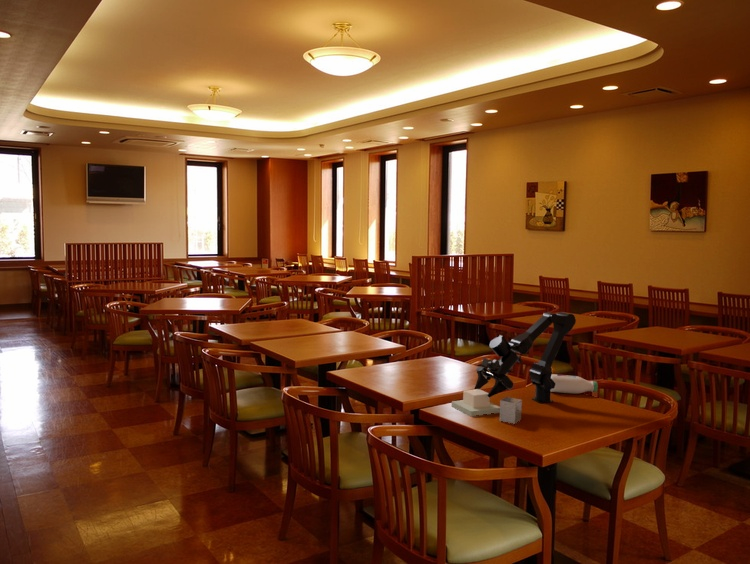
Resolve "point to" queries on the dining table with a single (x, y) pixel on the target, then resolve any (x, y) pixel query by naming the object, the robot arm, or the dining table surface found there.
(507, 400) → the steel tin
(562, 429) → the dining table surface
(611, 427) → the dining table surface
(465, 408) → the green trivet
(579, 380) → the milk bottle
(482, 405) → the cream lid
